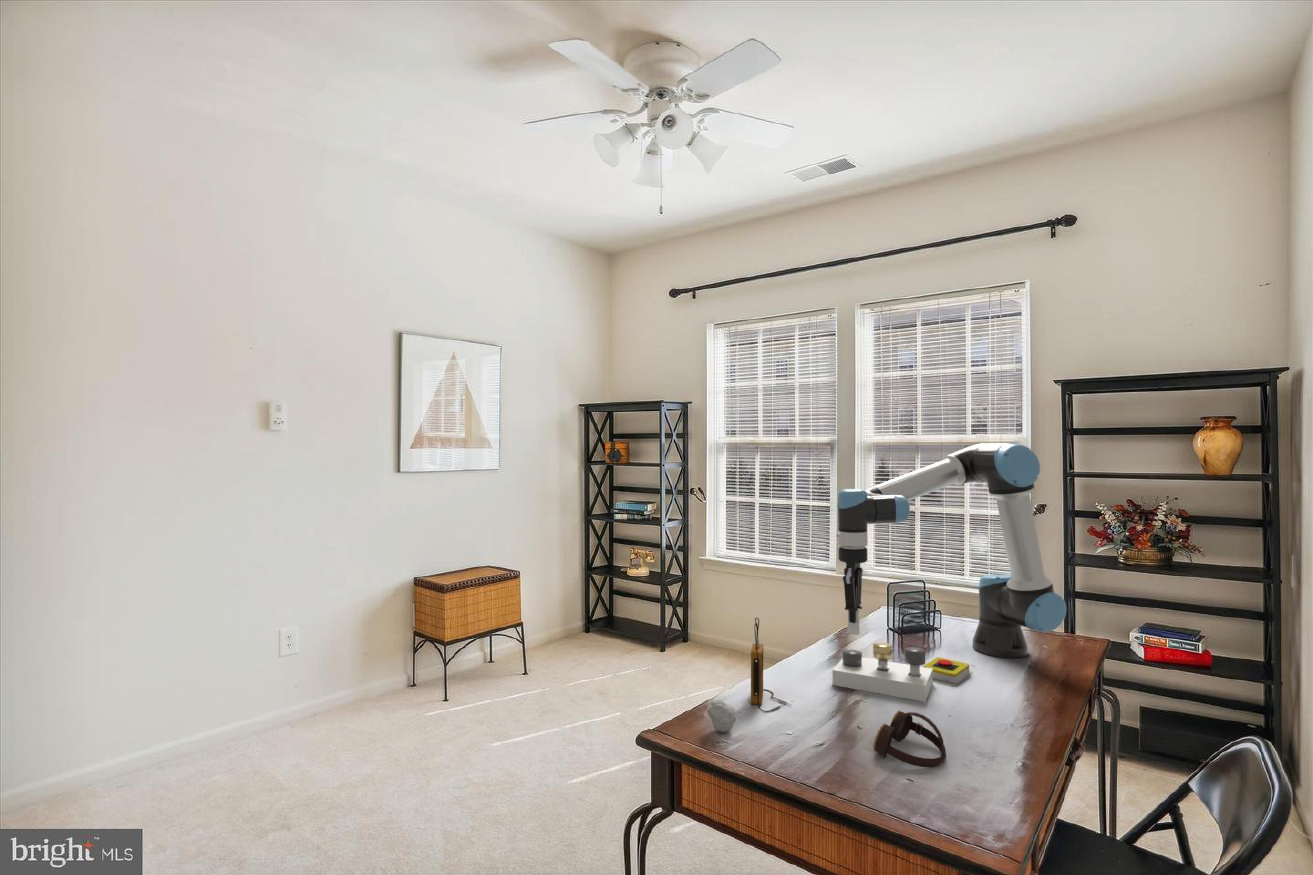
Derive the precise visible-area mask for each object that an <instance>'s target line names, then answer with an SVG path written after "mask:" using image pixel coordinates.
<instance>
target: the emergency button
mask: <svg viewBox="0 0 1313 875" xmlns="http://www.w3.org/2000/svg"><path fill="white" fill-rule="evenodd" d="M922 667H925V668H932V669H933V682H934V683H938V684H943V685H946V686H951V687H954V686H956V685H958V684H959V683H961V682H962V681H963V680H965V679H966V678H968V677H969V676H970V675H971V674H972V673H973V671H972V670H970V664H969V663H966V662H963V661H957V660H954V659H948V658H944V657H938V656H937V657H935V658H934V659H932V660H931V661H929V662H926V663H925V664H924V665H922Z"/></svg>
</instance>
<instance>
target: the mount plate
mask: <svg viewBox="0 0 1313 875" xmlns="http://www.w3.org/2000/svg"><path fill="white" fill-rule="evenodd" d="M933 682H934V681H933V669H932V668H925V667H923V666H920V677H915V676H910V664H905V663H900V662H893V661H888V672H885V671H879V670H878V659H876V658H875V659H874V658H868V657H862V665H861V666H858V667H852V666H847V665H844V664H843V657H842V658H841V659H840V660H839V661H838V663H837V664H836V665H835V667H834V668H833V669H832V686H835V685H837V687H842V688H846V687H847V688H848V689H851V690H852V689H853V690H858V691H863V692H869V693H873V694H874V693H875V694H879V693H880V695H885V696H892V697H896V698H903V699H906V700H907V699H908V700H913V701H920V702H922V703H923V702H924V703H926V700H927V699H928V697H929V694H930V692H931V688H932V687H933Z"/></svg>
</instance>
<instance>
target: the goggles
mask: <svg viewBox="0 0 1313 875" xmlns="http://www.w3.org/2000/svg"><path fill="white" fill-rule="evenodd" d="M913 716H914V717H916V718H919V719H922V720H923V721H925V722H927V723H928V725H929V726H930V727H931V728H932V729H933V730H934V732H935V733H934V732H932V731H931V730H929V729H928V728H926V727H925V726H924V725H923V724H921V723H920V722H914V721H913ZM910 731H912V732H914V733H915V734H917V735H918V736H922V737H924V738H925V739H927V740H928V741H929V742H931V743H932V744H933V745H934V746H935V747H936V748H937V749H938V750H939V752H940V756H938V757H934V758H929V757H928V758H927V757H920V756H916V755H913V754H909V753H907V752H904V751H902V750H900V749H897V748H896V747H894V746H892V745H891V744H892V740H894V741H897V742H898V743H900V742H902V741H904V740H905V739H906V737H908V735H909V733H910ZM872 747H873V750H872V751H873V752H876V753H877V754H879V755H880V757H883V758H884V759H886V757H887V755H889V756H891V757H892V758H894V759H896V760H899V761H900V762H902V763H905V764H908V765H911V766H915V767H919V768H935V767H939V766H940V765H941V764H942V763H943V762H945V760H946V758H947V751H946V746H945V744H944V739H943V736H942V733H941V732H940V730H939V728H938V726H937V725H936V724H935V723H934V721H932V720H931V719H930V718H928V717H927V716H925V715H923V714H921V713H918V712H914V711H913V712H909V711H908V712H904V711H901V710H897V711H896V713H895V714H894V715H893V717H892V719H891V722H890V725H889V724H887V723H886V722H884V723H882V725H881V726H879V728H878V730H877V732H876V735H875V738H874V741H873V745H872Z"/></svg>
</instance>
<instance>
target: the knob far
mask: <svg viewBox="0 0 1313 875" xmlns="http://www.w3.org/2000/svg"><path fill="white" fill-rule="evenodd" d="M842 658H843V664H844V665H847V666H852V667H858V666H861V665H862V658H863V653H862V652H861V651H860V650H857V649H844V650H842Z"/></svg>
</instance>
